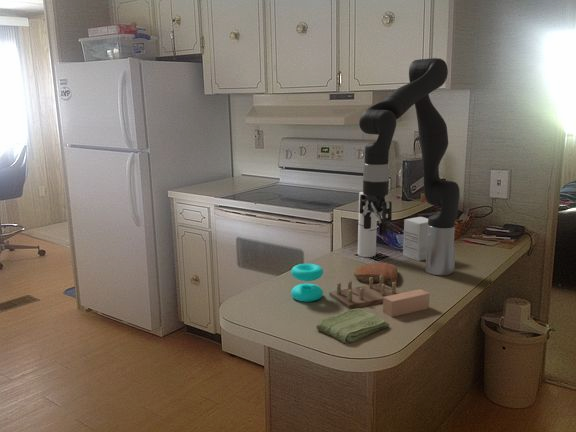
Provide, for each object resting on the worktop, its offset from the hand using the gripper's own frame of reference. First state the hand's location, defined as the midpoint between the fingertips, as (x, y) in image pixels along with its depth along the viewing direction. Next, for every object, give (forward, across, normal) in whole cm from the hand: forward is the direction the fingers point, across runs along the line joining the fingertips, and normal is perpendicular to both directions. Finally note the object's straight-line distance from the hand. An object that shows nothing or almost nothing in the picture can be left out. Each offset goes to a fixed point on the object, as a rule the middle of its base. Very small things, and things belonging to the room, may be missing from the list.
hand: (374, 231), depth 164 cm
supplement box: (+23, +33, -41) cm, 58 cm away
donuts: (+23, +11, +17) cm, 31 cm away
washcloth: (+23, -15, +15) cm, 31 cm away
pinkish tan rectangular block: (+23, -10, -6) cm, 25 cm away
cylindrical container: (+23, +44, -24) cm, 55 cm away
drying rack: (+22, +4, 0) cm, 23 cm away
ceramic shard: (+23, +19, -13) cm, 32 cm away
